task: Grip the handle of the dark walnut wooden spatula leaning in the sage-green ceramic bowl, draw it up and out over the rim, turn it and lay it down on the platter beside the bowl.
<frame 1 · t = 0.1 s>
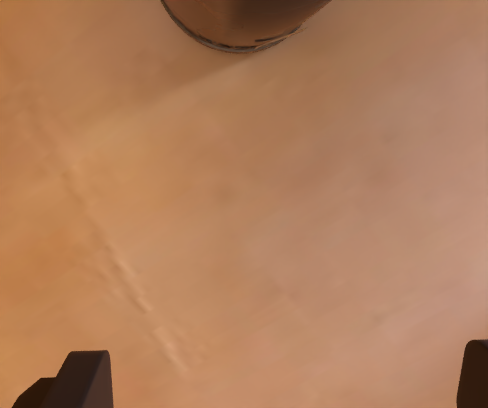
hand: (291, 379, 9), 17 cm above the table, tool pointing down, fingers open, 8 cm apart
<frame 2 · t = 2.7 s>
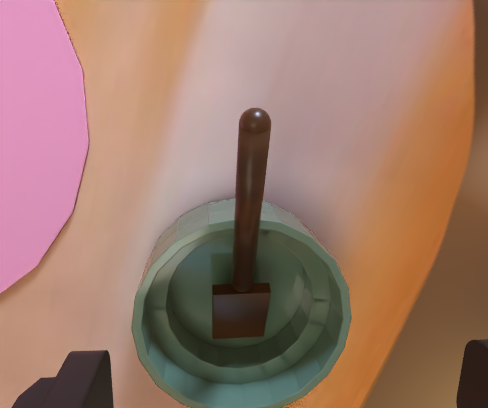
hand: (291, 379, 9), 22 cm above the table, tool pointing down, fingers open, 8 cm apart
bowl: (236, 284, 33), on the table
spatula: (243, 261, 27), point 5 cm above the table, touching bowl
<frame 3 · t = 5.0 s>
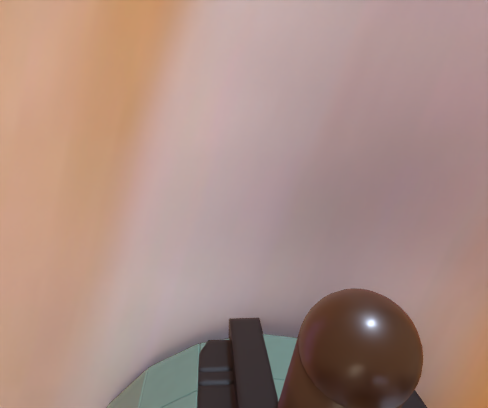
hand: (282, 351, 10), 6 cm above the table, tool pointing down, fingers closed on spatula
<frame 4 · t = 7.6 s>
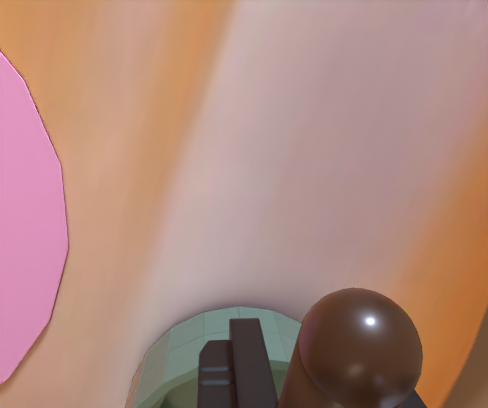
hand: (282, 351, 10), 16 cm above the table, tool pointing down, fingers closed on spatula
bowl: (236, 395, 29), on the table
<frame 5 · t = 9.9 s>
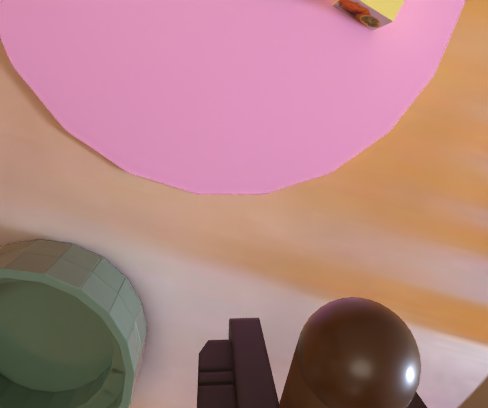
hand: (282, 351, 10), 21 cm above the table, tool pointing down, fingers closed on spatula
bowl: (52, 326, 32), on the table
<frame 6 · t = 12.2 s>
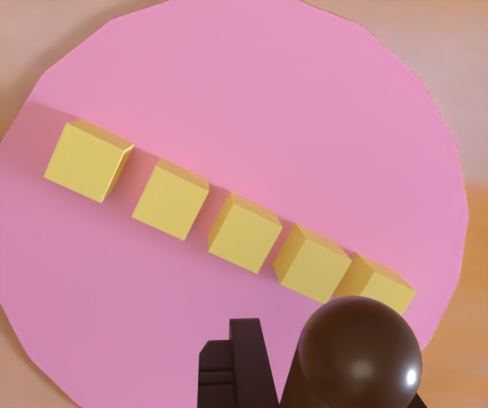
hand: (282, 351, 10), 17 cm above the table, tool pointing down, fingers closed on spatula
platter: (237, 251, 28), on the table
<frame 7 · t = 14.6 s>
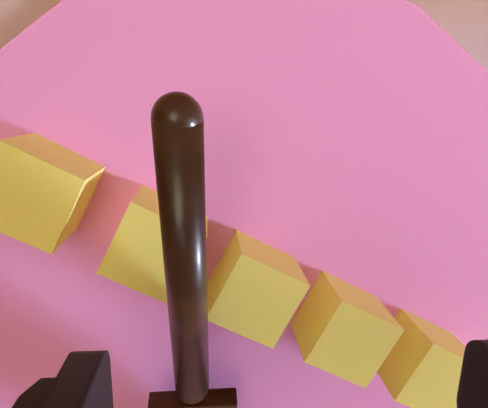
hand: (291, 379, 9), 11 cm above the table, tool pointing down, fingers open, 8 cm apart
platter: (244, 306, 21), on the table, touching spatula
spatula: (190, 354, 17), point 4 cm above the table, tilted 132°, touching platter
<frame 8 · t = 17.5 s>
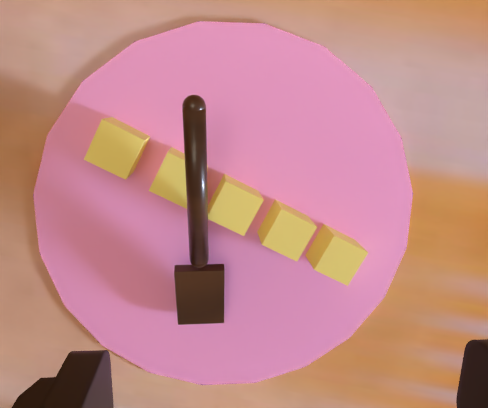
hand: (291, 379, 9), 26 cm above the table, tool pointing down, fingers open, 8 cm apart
platter: (229, 221, 36), on the table, touching spatula
spatula: (198, 237, 32), point 4 cm above the table, tilted 132°, touching platter
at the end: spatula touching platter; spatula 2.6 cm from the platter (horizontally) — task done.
